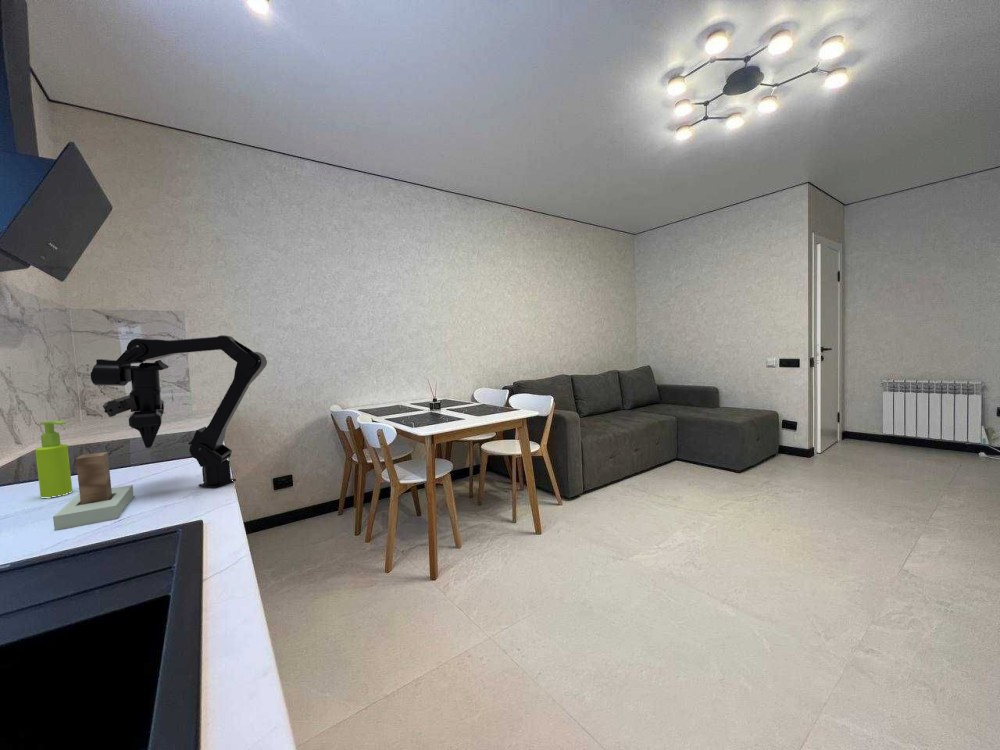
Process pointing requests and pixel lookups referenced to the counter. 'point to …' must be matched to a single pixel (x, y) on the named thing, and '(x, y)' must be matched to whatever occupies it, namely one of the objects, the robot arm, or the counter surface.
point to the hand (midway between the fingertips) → (149, 442)
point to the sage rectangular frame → (93, 509)
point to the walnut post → (94, 478)
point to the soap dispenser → (53, 463)
